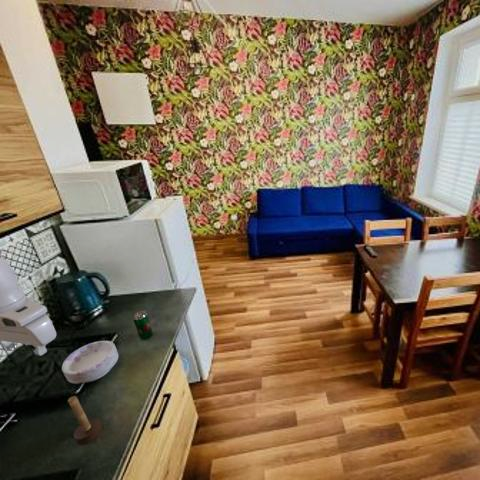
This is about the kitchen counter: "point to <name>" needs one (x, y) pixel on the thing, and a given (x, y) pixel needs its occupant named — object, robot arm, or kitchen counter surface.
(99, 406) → the kitchen counter surface
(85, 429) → the toilet plunger
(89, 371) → the paper bowls
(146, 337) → the soda can
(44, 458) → the kitchen counter surface
